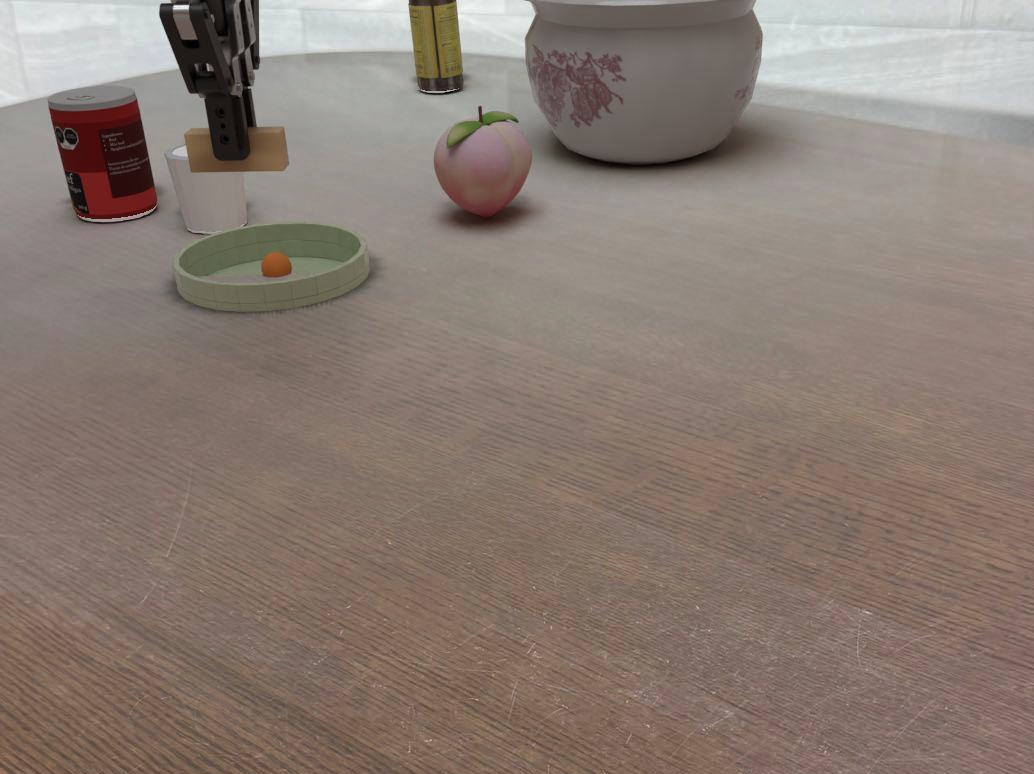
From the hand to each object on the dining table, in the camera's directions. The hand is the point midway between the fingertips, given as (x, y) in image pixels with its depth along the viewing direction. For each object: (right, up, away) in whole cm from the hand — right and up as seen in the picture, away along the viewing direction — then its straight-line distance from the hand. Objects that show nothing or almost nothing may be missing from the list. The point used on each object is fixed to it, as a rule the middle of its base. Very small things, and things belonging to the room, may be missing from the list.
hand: (237, 153), depth 76 cm
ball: (-2, -3, +20) cm, 21 cm away
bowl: (-2, -5, +20) cm, 21 cm away
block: (0, -1, +1) cm, 1 cm away
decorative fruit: (+14, +5, +36) cm, 39 cm away
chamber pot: (+30, +18, +55) cm, 65 cm away
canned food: (-22, +7, +41) cm, 47 cm away
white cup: (-11, +5, +37) cm, 38 cm away
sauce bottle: (+6, +35, +83) cm, 91 cm away
